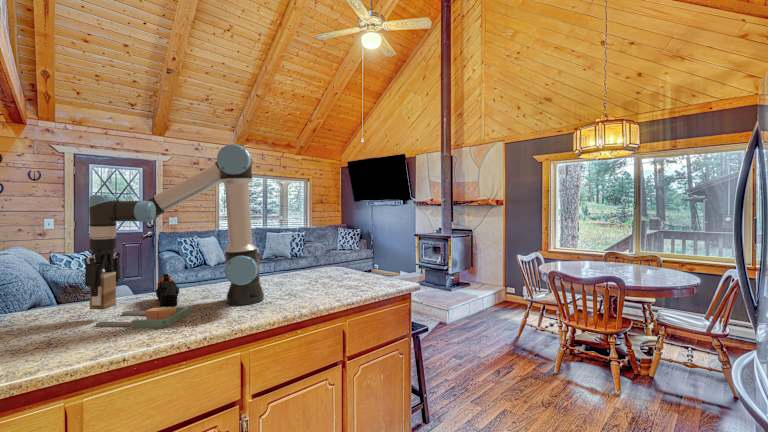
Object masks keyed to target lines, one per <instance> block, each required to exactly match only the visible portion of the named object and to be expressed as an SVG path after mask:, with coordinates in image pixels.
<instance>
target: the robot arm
mask: <svg viewBox="0 0 768 432" xmlns="http://www.w3.org/2000/svg"><path fill="white" fill-rule="evenodd" d="M216 155H217V156H216V161H215V162H213V166H210V167H209V168H207V169H205V170H202V171H201V172H199V173H196V174H195V175H193V176H191V177H188V178H187V179H185V180H182V181H181V182H179V183H177V184H176V185H173V186H171V187H169V188H166V189H165V190H163V191H161V192H159V193H157V194H155V195H153V196H151V197H149V198H147V199H145V200H118V199H117V198H116V197H117V196H116V195H113V194H92V195H90V196H89V198H88V199H89V200H88V217H89V218H88V222H89V225H88V226H89V238H90V239H89V244H88V246H89V250H91V251H92V252H91V256H89V257H84V259H83V260H84V264H85V265H84V266H85V268H84V269H85V271H84V272H85V273H84V274H85V275H84V285H85V287H88V288H90V287H91V296H92V305H101V286H99V284H100V279H101V278H100V275H101V274H102V272H103V268H104V272H116V283H118V282H119V280H120V278H121V269H120V268H121V267H120V258H121V253H120V252H115V251H114V249H116V248H117V239H116V237H117V222H139V223H142V222H143V223H144V222H151V221H154V220H156V219H157V218H160V216H161V215H163V214H164V213H166V212H168V211H170V210H172V209H174V208H175V207H178V206H179V205H182V204H184V203H186V202H187V201H189V200H191V199H193V198H195V197H197V196H199V195H201V194H203V193H205V192H207V191H209V190H210V189H213V188H214V187H216V186H219V185H221V184H222V183H223V184H224V191H225V194H224V195H225V205H226V206H225V207H226V209H225V210H226V220H227V234H228V246H227V248H226V249H225V250H224V253H225V255H224V256H225V266H224V274H225V277H226V279H227V280H228V281H229V282H230V284H229V287H228V290H227V294H226V296H225V297H226V298H225V299H226V302H225V303H226V304H229V305H234V306H242V305H243V306H246V305H253V304H256V303H260V302H262V301H264V300H265V296H264V295H265V293H264V290H263V287H262V284H261V282H260V281H261V280H260V255H261V253H260V249H259V248H258V247H257V246H255V245H254V244H253V233H252V232H253V231H252V217H251V202H250V189H249V188H250V185H249V184H250V183H251V182H252V180H253V171H252V169H253V158H252V156H251V153H250V152H249V151H248V149H247V148H246V147H244V146H242V145H240V144H236V143H228V144H226V145H224V146H222V147H221V148H220V149H219V151H218V152H217V154H216Z"/></svg>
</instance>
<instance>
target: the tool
mask: <svg viewBox="0 0 768 432" xmlns="http://www.w3.org/2000/svg"><path fill="white" fill-rule="evenodd" d="M156 286H157V287H156V290H155V296H156V297H157V302H159V308H160V307H178V299H179V298H178V297H179V294H180V287H179V286H178V285H177V283H175V281H174V280H173V279H171V275H169V273H163V275H161V276H160V280H159V281H158V282H157V285H156Z"/></svg>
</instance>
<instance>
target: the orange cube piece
mask: <svg viewBox="0 0 768 432" xmlns="http://www.w3.org/2000/svg"><path fill="white" fill-rule="evenodd" d="M174 314H176V308H163V309H161V310H159V311H158V320H164V319H166V318H168V317H170V316H172V315H174Z"/></svg>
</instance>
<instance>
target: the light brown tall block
mask: <svg viewBox="0 0 768 432" xmlns="http://www.w3.org/2000/svg"><path fill="white" fill-rule="evenodd" d="M100 278H101V279H100V284H99V286H101V305H92V296H91V287H89V310H96V311H97V310H107V309H109V308H112V307H115V306H117V295H116V294H117V292H116V291H117V289H116V288H117V286H116V285H117V282H116V272H105V271H102V274H101V275H100Z"/></svg>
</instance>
